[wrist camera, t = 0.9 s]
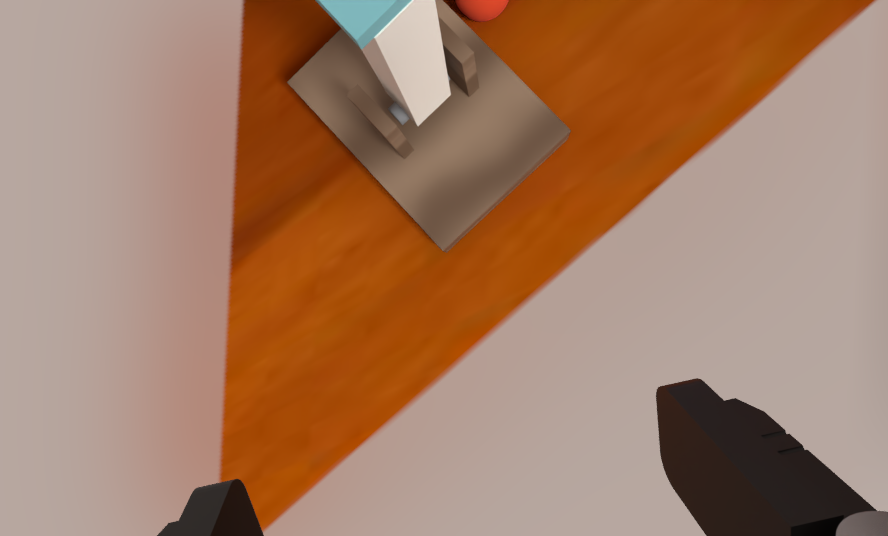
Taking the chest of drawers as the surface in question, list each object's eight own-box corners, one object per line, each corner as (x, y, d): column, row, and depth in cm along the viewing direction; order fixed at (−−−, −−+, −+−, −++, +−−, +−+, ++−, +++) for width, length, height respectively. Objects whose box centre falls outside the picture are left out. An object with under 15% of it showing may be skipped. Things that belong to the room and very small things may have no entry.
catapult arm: (458, 90, 31) (443, -44, 17) (412, 135, 31) (357, 41, 17) (409, 38, 31) (351, -141, 17) (363, 83, 31) (267, -55, 17)
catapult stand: (567, 139, 34) (582, 102, 27) (446, 252, 34) (430, 245, 27) (412, -19, 35) (388, -93, 28) (299, 93, 36) (248, 47, 29)
